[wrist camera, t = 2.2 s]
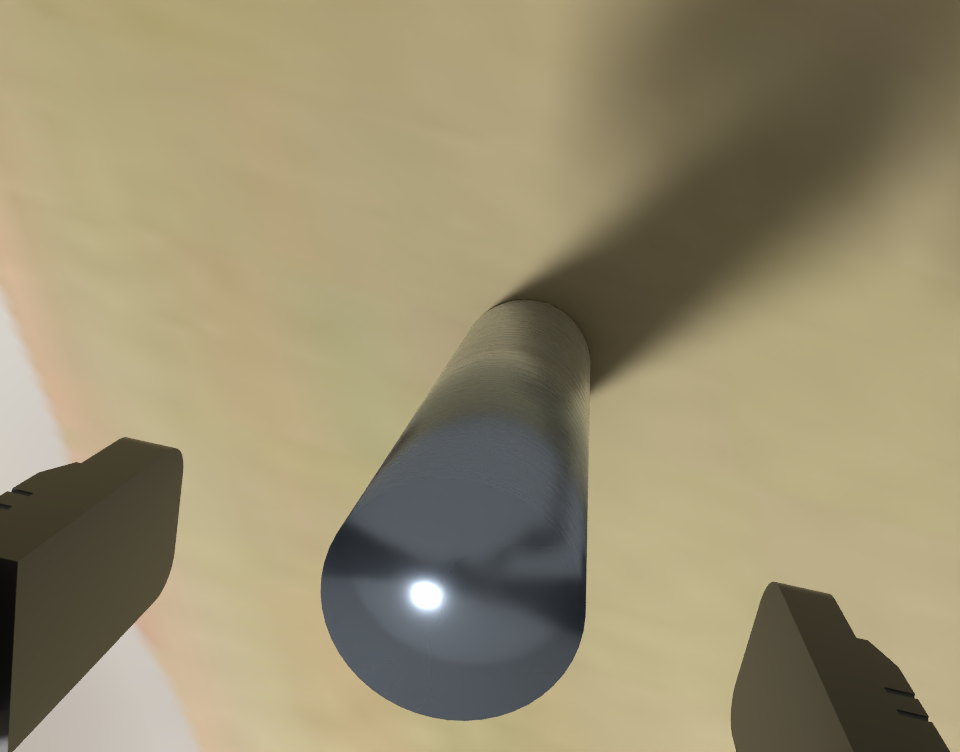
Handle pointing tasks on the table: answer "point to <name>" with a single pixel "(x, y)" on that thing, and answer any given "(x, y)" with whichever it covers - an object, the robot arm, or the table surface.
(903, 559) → the table surface
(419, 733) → the table surface
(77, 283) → the table surface
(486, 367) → the pin
